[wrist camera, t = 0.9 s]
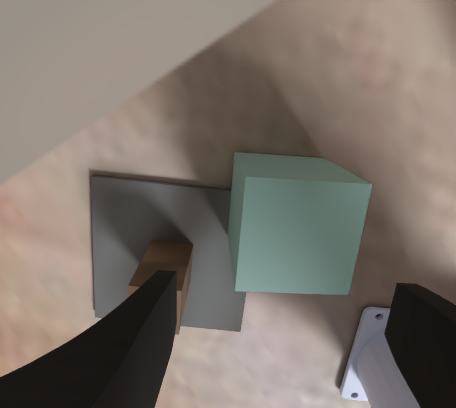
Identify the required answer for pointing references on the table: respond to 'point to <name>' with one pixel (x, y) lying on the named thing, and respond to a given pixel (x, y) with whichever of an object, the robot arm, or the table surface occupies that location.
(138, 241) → the peg stand
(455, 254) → the table surface
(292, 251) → the mint green cube
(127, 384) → the robot arm
